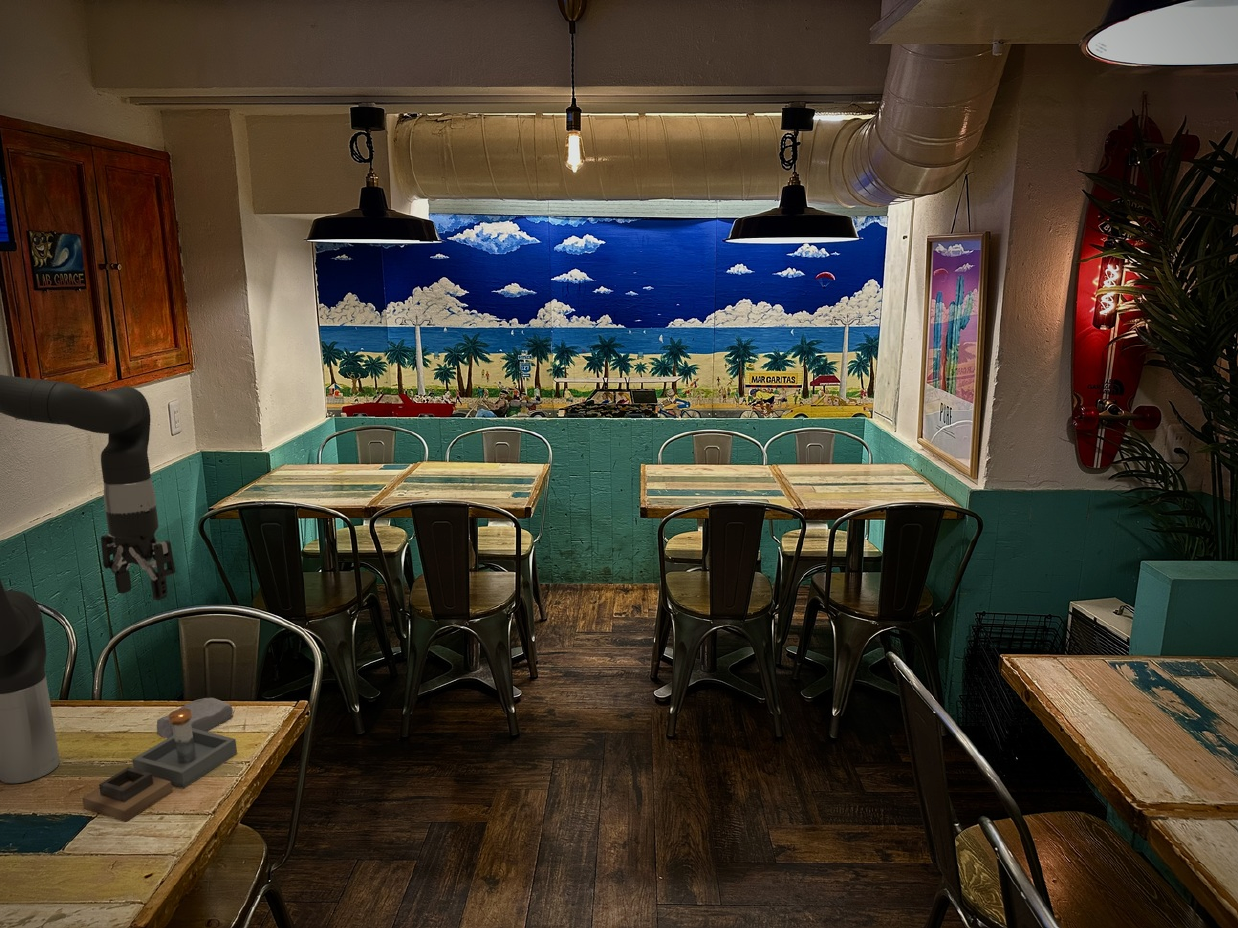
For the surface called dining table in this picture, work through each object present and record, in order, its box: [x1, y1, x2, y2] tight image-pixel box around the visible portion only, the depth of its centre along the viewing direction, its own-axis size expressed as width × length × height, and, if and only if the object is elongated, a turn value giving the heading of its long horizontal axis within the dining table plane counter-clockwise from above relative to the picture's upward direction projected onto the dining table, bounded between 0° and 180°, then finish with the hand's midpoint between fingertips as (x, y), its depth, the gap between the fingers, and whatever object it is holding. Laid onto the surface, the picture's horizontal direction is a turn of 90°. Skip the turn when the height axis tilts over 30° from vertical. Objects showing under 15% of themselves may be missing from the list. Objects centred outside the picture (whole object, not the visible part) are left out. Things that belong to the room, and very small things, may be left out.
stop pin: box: [168, 708, 196, 764], centre depth 159 cm, size 4×4×9 cm
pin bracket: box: [81, 766, 173, 822], centre depth 149 cm, size 10×9×4 cm
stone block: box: [156, 697, 234, 739], centre depth 173 cm, size 12×5×10 cm
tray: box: [131, 728, 238, 789], centre depth 159 cm, size 12×12×3 cm
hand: (142, 595), depth 152 cm, fingers open, 8 cm apart
